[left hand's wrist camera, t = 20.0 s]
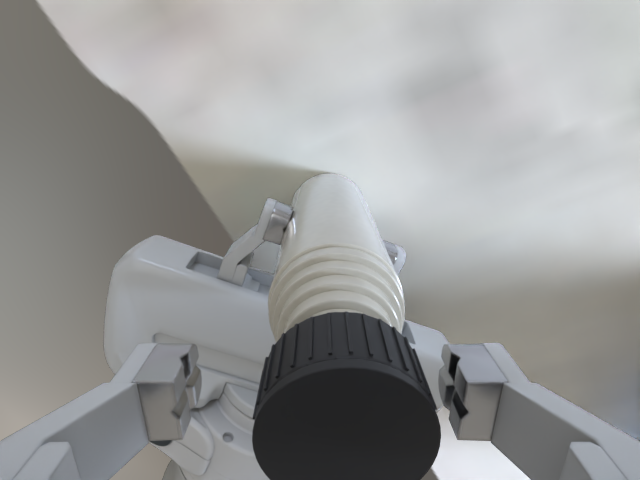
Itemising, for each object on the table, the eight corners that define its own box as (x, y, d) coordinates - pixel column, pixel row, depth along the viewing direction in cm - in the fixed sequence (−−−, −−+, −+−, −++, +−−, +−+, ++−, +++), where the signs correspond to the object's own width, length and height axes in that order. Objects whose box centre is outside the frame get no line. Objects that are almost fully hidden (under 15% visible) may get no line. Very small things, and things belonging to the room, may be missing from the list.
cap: (429, 311, 10) (458, 367, 8) (409, 436, 12) (429, 512, 9) (261, 305, 10) (246, 362, 8) (264, 433, 11) (252, 507, 9)
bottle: (302, 252, 27) (273, 510, 10) (282, 183, 25) (208, 360, 8) (373, 235, 26) (462, 478, 10) (357, 164, 25) (435, 312, 8)
